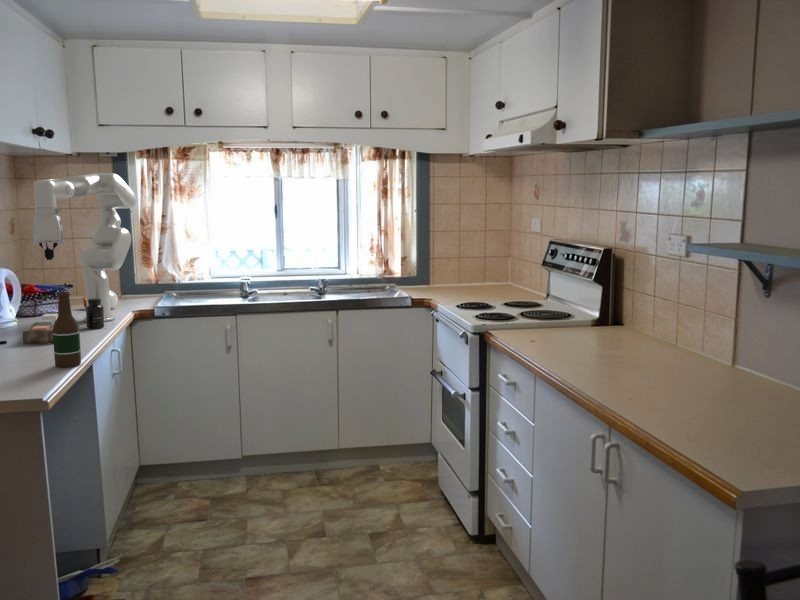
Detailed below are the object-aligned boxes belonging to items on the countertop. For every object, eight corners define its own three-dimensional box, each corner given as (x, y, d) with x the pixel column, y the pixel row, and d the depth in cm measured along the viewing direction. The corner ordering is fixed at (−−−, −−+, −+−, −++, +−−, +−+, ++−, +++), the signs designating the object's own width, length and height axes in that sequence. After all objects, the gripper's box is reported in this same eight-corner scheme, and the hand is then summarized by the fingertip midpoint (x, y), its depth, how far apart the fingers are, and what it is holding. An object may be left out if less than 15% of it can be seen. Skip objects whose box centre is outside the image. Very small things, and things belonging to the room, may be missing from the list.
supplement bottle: (98, 329, 288) (96, 300, 287) (83, 329, 290) (81, 299, 288) (108, 326, 295) (106, 298, 293) (93, 325, 296) (91, 297, 295)
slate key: (41, 330, 273) (40, 319, 272) (55, 329, 274) (54, 319, 273) (37, 332, 268) (36, 322, 267) (51, 332, 269) (51, 321, 268)
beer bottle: (49, 367, 226) (44, 293, 223) (65, 362, 234) (60, 289, 230) (71, 368, 225) (66, 294, 221) (86, 363, 232) (82, 290, 229)
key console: (23, 344, 260) (22, 331, 259) (38, 333, 280) (37, 321, 279) (55, 343, 262) (54, 330, 261) (68, 332, 282) (68, 320, 282)
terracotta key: (36, 336, 266) (35, 325, 265) (50, 335, 267) (50, 325, 266) (32, 339, 261) (31, 328, 260) (47, 338, 262) (46, 327, 262)
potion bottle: (119, 312, 339) (87, 316, 337) (121, 298, 345) (89, 302, 344) (113, 298, 332) (80, 302, 330) (116, 284, 339) (83, 288, 337)
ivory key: (45, 324, 279) (45, 314, 278) (59, 323, 280) (58, 313, 280) (42, 326, 274) (41, 316, 274) (56, 325, 275) (55, 315, 275)
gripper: (69, 212, 281) (72, 258, 284) (28, 212, 277) (31, 259, 280) (64, 212, 274) (68, 260, 276) (22, 212, 270) (26, 260, 273)
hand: (49, 259), depth 278 cm, fingers closed
